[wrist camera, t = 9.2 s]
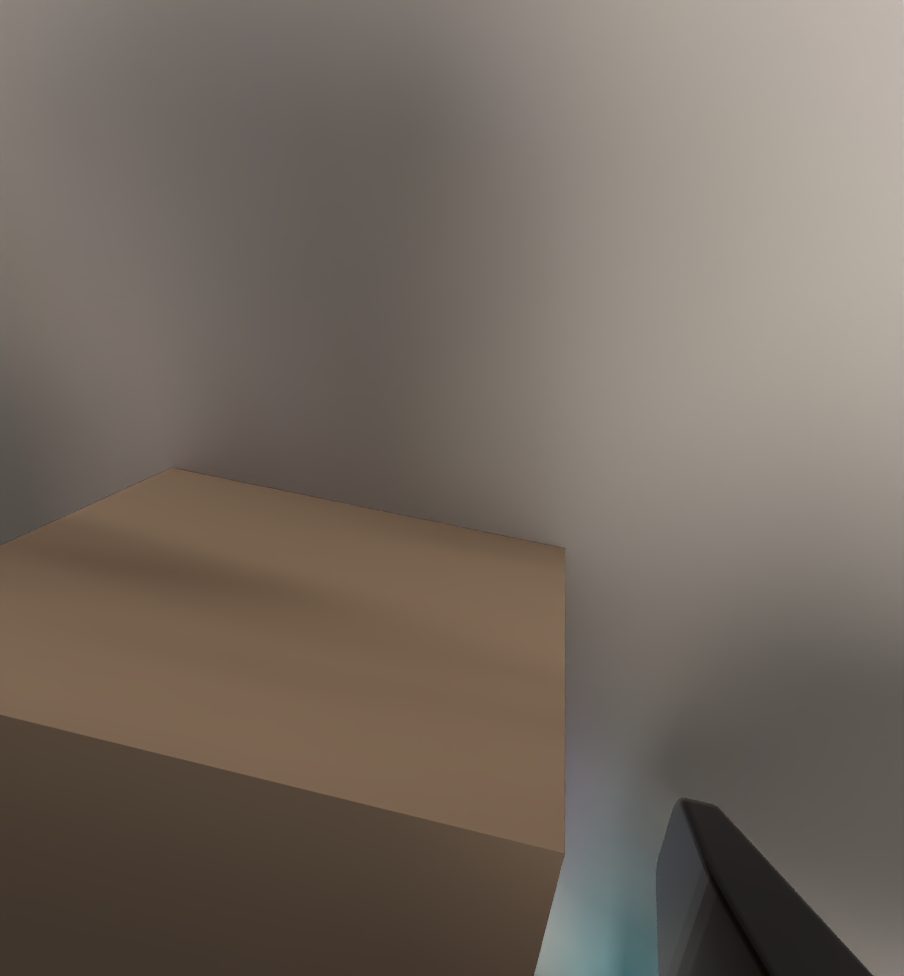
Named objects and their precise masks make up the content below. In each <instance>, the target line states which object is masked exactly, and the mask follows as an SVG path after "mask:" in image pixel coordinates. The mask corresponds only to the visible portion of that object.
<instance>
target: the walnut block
mask: <svg viewBox="0 0 904 976" xmlns="http://www.w3.org/2000/svg"><path fill="white" fill-rule="evenodd" d="M564 854H565V548H561V547H556V546H551V545H546V544H541V543H536V542H531V541H526V540H522V539H517V538H512V537H507V536H502V535H497V534H492V533H487V532H482V531H478V530H473V529H468V528H463V527H458V526H453V525H448V524H443V523H439V522H434V521H429V520H424V519H419V518H414V517H409V516H404V515H400V514H395V513H390V512H385V511H380V510H375V509H370V508H365V507H361V506H356V505H351V504H346V503H341V502H336V501H331V500H326V499H322V498H317V497H312V496H307V495H302V494H297V493H292V492H287V491H283V490H278V489H273V488H268V487H263V486H258V485H253V484H248V483H243V482H239V481H234V480H229V479H224V478H219V477H214V476H209V475H204V474H200V473H195V472H190V471H185V470H180V469H175V468H170V469H167V470H165V471H163V472H161V473H159V474H156V475H154V476H152V477H150V478H148V479H145V480H143V481H141V482H139V483H137V484H134V485H132V486H130V487H128V488H126V489H123V490H121V491H119V492H117V493H115V494H112V495H110V496H108V497H106V498H104V499H101V500H99V501H97V502H95V503H93V504H90V505H88V506H86V507H84V508H82V509H79V510H77V511H75V512H73V513H71V514H68V515H66V516H64V517H62V518H60V519H57V520H55V521H53V522H51V523H49V524H46V525H44V526H42V527H40V528H37V529H35V530H33V531H31V532H29V533H26V534H24V535H22V536H20V537H18V538H15V539H13V540H11V541H9V542H7V543H4V544H2V545H0V976H534V972H535V968H536V965H537V961H538V957H539V953H540V949H541V945H542V941H543V937H544V933H545V929H546V925H547V921H548V917H549V913H550V909H551V905H552V901H553V897H554V893H555V889H556V886H557V882H558V878H559V874H560V870H561V866H562V862H563V858H564Z"/></svg>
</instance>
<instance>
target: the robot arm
mask: <svg viewBox="0 0 904 976" xmlns="http://www.w3.org/2000/svg"><path fill="white" fill-rule="evenodd" d="M656 901H657V936H658V972H659V976H873V975H872V974H871V973H870V972H869V970H868V969H867V968H866V967H865V966H864V965H863V964H862V963H861V962H860V961H859V960H858V959H857V957H856V956H855V955H854V954H853V953H852V952H851V951H850V950H849V949H848V948H847V947H846V945H845V944H844V943H843V942H842V941H841V940H840V939H839V938H838V937H837V936H836V935H835V933H834V932H833V931H832V930H831V929H830V928H829V927H828V926H827V925H826V924H825V923H824V922H823V920H822V919H821V918H820V917H819V916H818V915H817V914H816V913H815V912H814V911H813V910H812V908H811V907H810V906H809V905H808V904H807V903H806V902H805V901H804V900H803V899H802V898H801V897H800V895H799V894H798V893H797V892H796V891H795V890H794V889H793V888H792V887H791V886H790V885H789V883H788V882H787V881H786V880H785V879H784V878H783V877H782V876H781V875H780V874H779V873H778V871H777V870H776V869H775V868H774V867H773V866H772V865H771V864H770V863H769V862H768V861H767V860H766V858H765V857H764V856H763V855H762V854H761V853H760V852H759V851H758V850H757V849H756V848H755V846H754V845H753V844H752V843H751V842H750V841H749V840H748V839H747V838H746V837H745V836H744V834H743V833H742V832H741V831H740V830H739V829H738V828H737V827H736V826H735V825H734V824H733V823H732V821H731V820H730V819H729V818H728V817H727V816H726V815H725V814H724V813H723V812H722V811H721V810H720V809H719V808H718V807H717V806H715V805H713V804H709V803H704V802H700V801H696V800H692V799H688V798H681V799H679V800H678V801H677V802H676V804H675V806H674V808H673V811H672V814H671V817H670V821H669V824H668V827H667V830H666V834H665V837H664V840H663V843H662V847H661V850H660V853H659V857H658V862H657V869H656Z"/></svg>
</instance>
